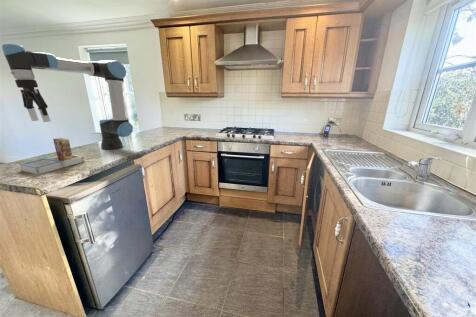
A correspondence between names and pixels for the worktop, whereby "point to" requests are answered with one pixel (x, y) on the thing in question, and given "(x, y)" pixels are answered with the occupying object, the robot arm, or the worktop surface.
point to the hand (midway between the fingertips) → (41, 121)
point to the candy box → (63, 149)
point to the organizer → (49, 164)
